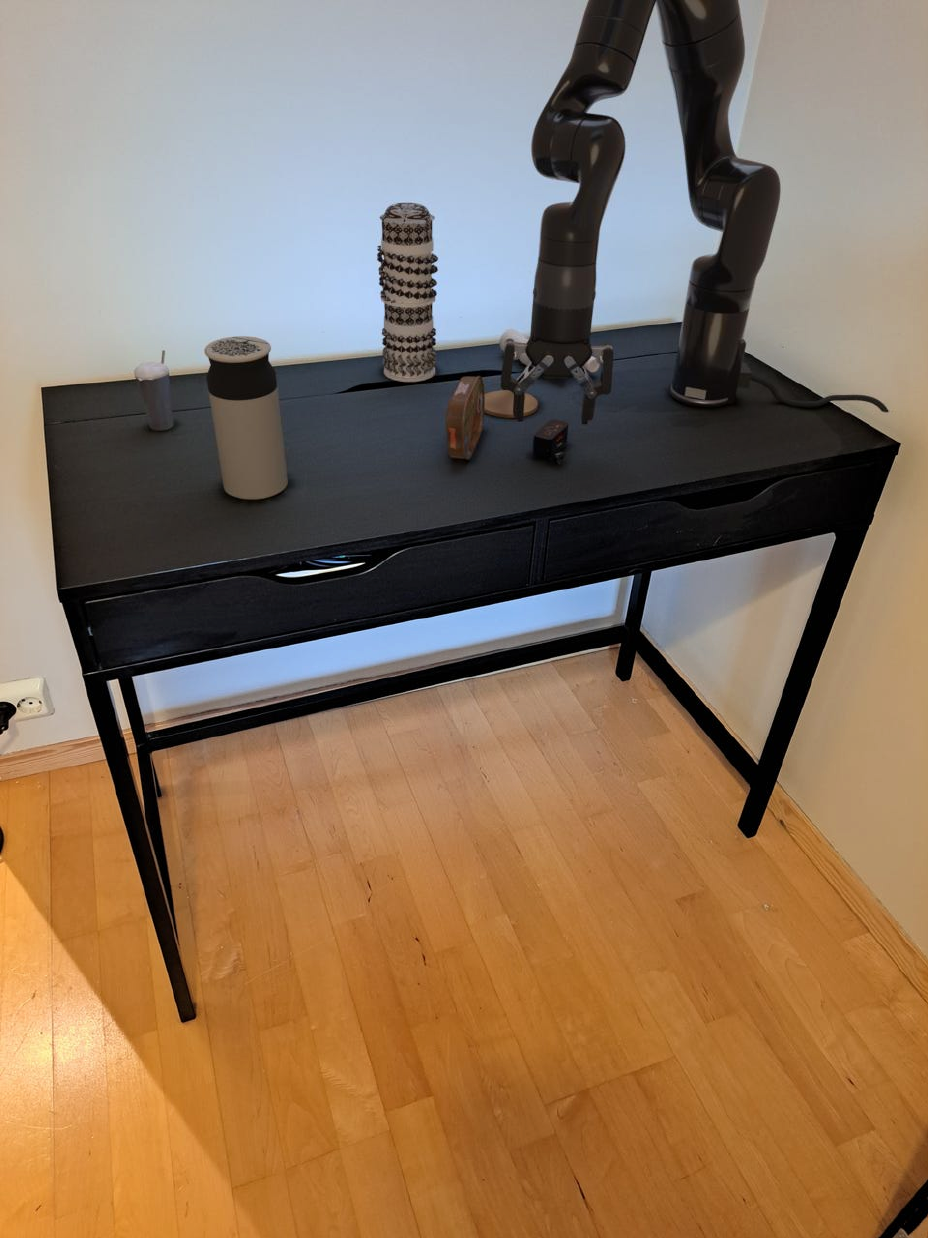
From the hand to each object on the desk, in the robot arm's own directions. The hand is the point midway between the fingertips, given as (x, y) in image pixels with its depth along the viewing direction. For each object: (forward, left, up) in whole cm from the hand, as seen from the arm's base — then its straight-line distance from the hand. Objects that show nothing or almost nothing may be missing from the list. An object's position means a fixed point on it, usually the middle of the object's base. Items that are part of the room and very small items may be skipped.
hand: (551, 420), depth 120 cm
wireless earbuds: (0, 0, -5) cm, 5 cm away
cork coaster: (+6, -16, -5) cm, 18 cm away
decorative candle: (+22, -28, -5) cm, 36 cm away
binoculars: (-1, -33, -5) cm, 33 cm away
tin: (+12, -2, -5) cm, 13 cm away
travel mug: (+38, +12, -5) cm, 40 cm away
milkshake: (+55, -5, -5) cm, 55 cm away
